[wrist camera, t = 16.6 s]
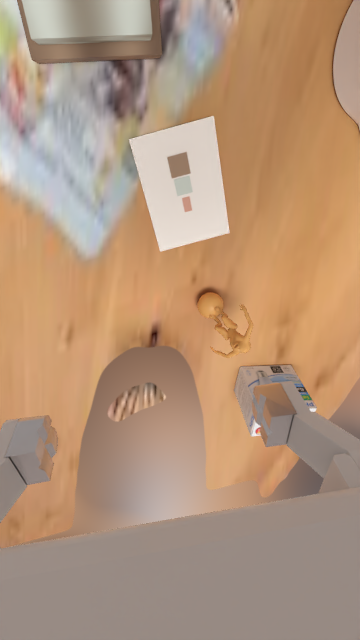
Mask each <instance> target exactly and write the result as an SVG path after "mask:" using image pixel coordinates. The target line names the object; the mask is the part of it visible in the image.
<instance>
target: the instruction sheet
mask: <svg viewBox="0 0 360 640" xmlns="http://www.w3.org/2000/svg"><path fill="white" fill-rule="evenodd" d="M129 142H130V145H131V149H132V152H133V156H134V159H135V163H136V166H137V170H138V174H139V177H140V181H141V184H142V188H143V191H144V195H145V199H146V202H147V206H148V209H149V213H150V216H151V220H152V224H153V227H154V231H155V234H156V238H157V241H158V245H159V248H160V252H161V251H165V250H168V249H172V248H176V247H179V246H183V245H187V244H190V243H194V242H198V241H201V240H205V239H209V238H213V237H216V236H220V235H224V234H227V233H230V232H229V225H228V218H227V210H226V203H225V195H224V188H223V180H222V173H221V166H220V158H219V151H218V143H217V136H216V128H215V121H214V116H210V117H207V118H203V119H200V120H196V121H192V122H189V123H185V124H182V125H178V126H174V127H171V128H167V129H164V130H160V131H156V132H153V133H149V134H146V135H142V136H138V137H135V138H131V139H129Z"/></svg>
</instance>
